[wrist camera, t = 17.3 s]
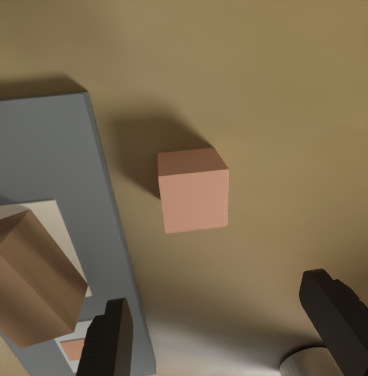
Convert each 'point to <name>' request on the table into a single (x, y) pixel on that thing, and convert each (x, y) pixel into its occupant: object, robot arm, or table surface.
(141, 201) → the table surface
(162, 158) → the terracotta cube
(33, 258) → the walnut brick
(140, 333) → the board
